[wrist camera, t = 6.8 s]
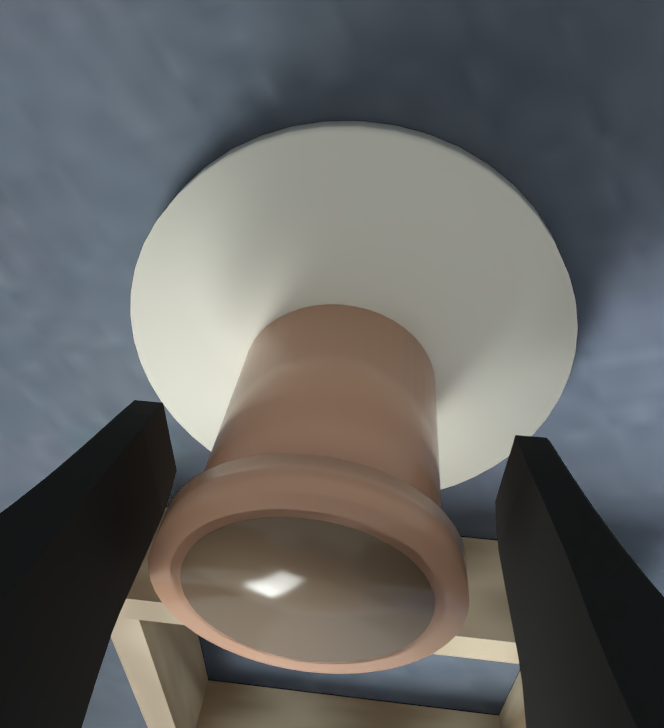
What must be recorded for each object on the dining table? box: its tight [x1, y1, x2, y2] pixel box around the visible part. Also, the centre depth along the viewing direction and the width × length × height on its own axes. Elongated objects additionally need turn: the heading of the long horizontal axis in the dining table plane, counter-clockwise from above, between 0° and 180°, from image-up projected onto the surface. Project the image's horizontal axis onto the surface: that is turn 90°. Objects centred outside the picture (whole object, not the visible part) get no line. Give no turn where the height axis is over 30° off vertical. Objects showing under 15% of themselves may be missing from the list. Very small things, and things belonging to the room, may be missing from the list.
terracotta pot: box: [148, 304, 469, 674], centre depth 13 cm, size 6×6×6 cm
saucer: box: [131, 121, 578, 489], centre depth 15 cm, size 11×11×1 cm
